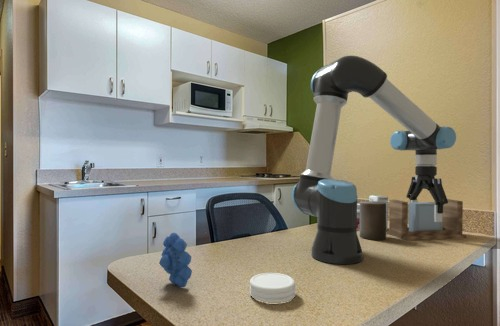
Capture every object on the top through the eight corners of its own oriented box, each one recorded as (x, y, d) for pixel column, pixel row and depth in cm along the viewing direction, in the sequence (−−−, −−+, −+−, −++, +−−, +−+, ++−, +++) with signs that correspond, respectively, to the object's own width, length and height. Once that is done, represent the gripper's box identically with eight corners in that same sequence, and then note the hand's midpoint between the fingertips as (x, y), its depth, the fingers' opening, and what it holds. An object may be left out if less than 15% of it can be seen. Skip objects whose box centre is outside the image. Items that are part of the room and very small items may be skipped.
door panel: (415, 234, 124) (415, 203, 124) (408, 232, 128) (408, 202, 128) (442, 233, 126) (442, 203, 126) (434, 231, 130) (435, 202, 130)
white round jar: (278, 283, 76) (278, 269, 76) (304, 300, 67) (304, 283, 67) (241, 291, 71) (241, 276, 71) (264, 310, 62) (264, 292, 62)
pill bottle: (356, 227, 141) (356, 202, 141) (369, 229, 137) (369, 204, 137) (348, 229, 137) (348, 203, 137) (361, 231, 133) (361, 205, 133)
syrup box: (368, 227, 140) (368, 195, 140) (379, 227, 142) (379, 195, 142) (376, 230, 135) (377, 196, 135) (388, 229, 137) (388, 196, 137)
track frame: (405, 240, 119) (405, 202, 119) (386, 233, 130) (386, 199, 130) (466, 237, 123) (466, 201, 123) (443, 231, 135) (443, 198, 135)
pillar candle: (389, 241, 117) (389, 200, 117) (361, 239, 119) (362, 199, 119) (382, 235, 127) (382, 198, 127) (357, 234, 128) (357, 197, 128)
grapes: (148, 282, 76) (148, 232, 76) (173, 275, 80) (174, 228, 80) (170, 298, 67) (171, 241, 67) (198, 289, 72) (198, 236, 72)
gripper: (459, 166, 115) (459, 224, 115) (413, 165, 139) (412, 213, 140) (441, 166, 114) (440, 224, 114) (397, 165, 138) (397, 213, 138)
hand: (425, 218), depth 127 cm, fingers open, 13 cm apart
